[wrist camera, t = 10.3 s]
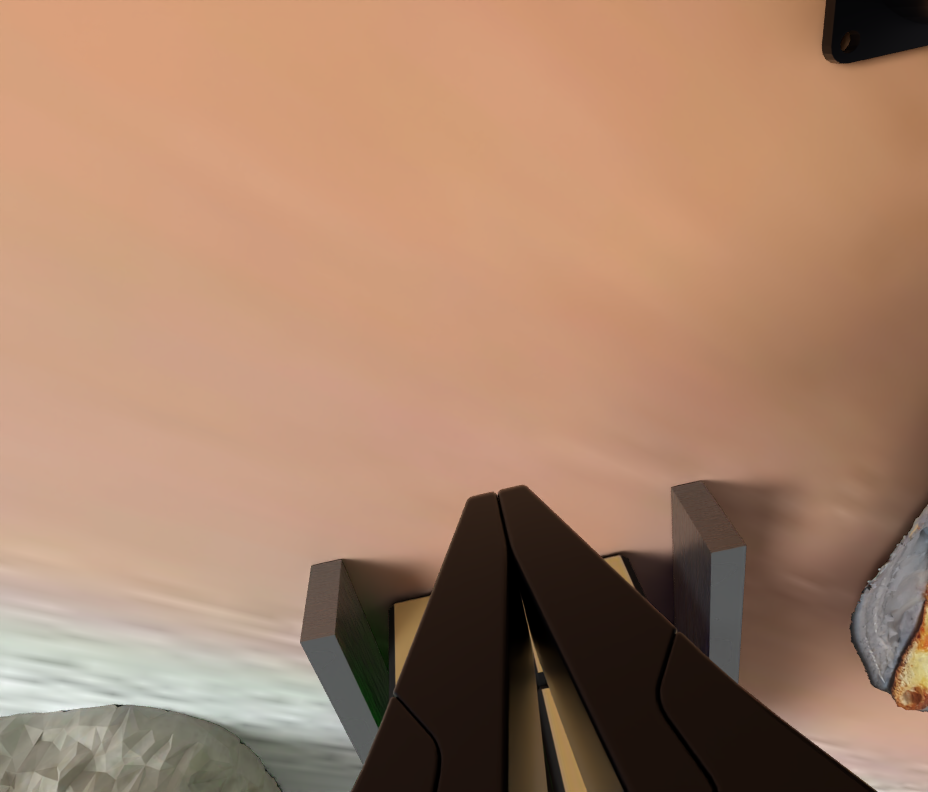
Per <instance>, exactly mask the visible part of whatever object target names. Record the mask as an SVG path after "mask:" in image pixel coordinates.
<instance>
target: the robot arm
mask: <svg viewBox="0 0 928 792" xmlns="http://www.w3.org/2000/svg"><path fill="white" fill-rule="evenodd" d="M847 32H848V33H849V34H850V42H849V45H848V46H847V48H846V49H845V50H844V51H842V50H841V45H840V44H841V40H842V38H843V37H844V35H845V34H846V33H847ZM927 45H928V0H826V8H825V19H824V29H823V40H822V52H823V55H824V57H825V59H826V60H828V61H829V62H831V63H852V62H856V61H861V60H865V59H870V58H874V57H878V56H883V55H887V54H892V53H896V52H901V51H905V50H909V49H914V48H918V47H923V46H927ZM498 499H499V500H498ZM522 601H523V602H522ZM523 605H524V606H523ZM524 609H525V610H524ZM525 614H526V615H525ZM526 618H527V619H526ZM527 622H528V623H527ZM528 626H529V628H528ZM529 630H530V633H531V637H532V641H533V644H534V647H535V650H536V653H537V656H538V659H539V662H540V665H541V667H542V670H543V673H544V676H545V678H546V681H547V684H548V686H549V689H550V692H551V695H552V697H553V700H554V703H555V706H556V708H557V711H558V714H559V716H560V719H561V722H562V725H563V727H564V730H565V733H566V735H567V738H568V741H569V744H570V746H571V749H572V752H573V754H574V757H575V760H576V763H577V765H578V768H579V771H580V774H581V776H582V779H583V782H584V784H585V787H586V790H587V792H877V791H876V790H875V789H873V788H872V787H871V786H869V785H868V784H867V783H866V782H864V781H863V780H862V779H860V778H859V777H858V776H856V775H855V774H854V773H852V772H851V771H850V770H848V769H847V768H846V767H844V766H843V765H842V764H840V763H839V762H838V761H837V760H835V759H834V758H833V757H831V756H830V755H829V754H827V753H826V752H825V751H823V750H822V749H821V748H819V747H818V746H817V745H815V744H814V743H813V742H811V741H810V740H809V739H808V738H806V737H805V736H804V735H802V734H801V733H800V732H798V731H797V730H796V729H794V728H793V727H792V726H790V725H789V724H788V723H786V722H785V721H784V720H783V719H781V718H780V717H779V716H777V715H776V714H775V713H774V712H772V711H771V710H770V709H769V708H767V707H766V706H765V705H764V704H762V703H761V702H760V701H759V700H757V699H756V698H755V697H754V696H752V695H751V694H750V693H749V692H747V691H746V690H745V689H744V688H742V687H741V686H740V685H739V684H737V683H736V682H735V681H734V680H733V679H732V678H731V677H730V676H728V675H727V674H726V673H725V672H724V671H723V670H722V669H721V668H719V667H718V666H717V665H716V664H715V663H714V662H713V661H712V660H710V659H709V658H708V657H707V656H706V655H705V654H704V653H703V652H702V651H701V650H699V649H698V648H697V647H696V646H695V645H694V644H693V643H692V642H691V641H690V640H689V639H688V638H687V637H686V636H685V635H684V634H683V633H681V632H678V633H677V628H676V627H675V626H674V625H673V624H672V623H671V622H670V621H668V620H667V619H666V618H665V617H664V616H663V615H662V614H661V613H660V612H659V611H658V610H657V609H656V608H655V607H654V606H653V605H652V604H651V603H649V602H648V601H647V600H646V599H645V598H644V597H643V596H642V595H641V594H640V593H639V592H638V591H637V590H636V589H635V588H634V587H633V586H632V585H630V584H629V583H628V582H627V581H626V580H625V579H624V578H623V577H622V576H621V575H620V574H619V573H618V572H617V571H616V570H615V569H614V568H613V567H611V566H610V565H609V564H608V563H607V562H606V561H605V560H604V559H603V558H602V557H601V556H600V555H599V554H598V553H597V552H596V551H595V550H594V549H592V548H591V547H590V546H589V545H588V544H587V543H586V542H585V541H584V540H583V539H582V538H581V537H580V536H579V535H578V534H577V533H576V532H575V531H573V530H572V529H571V528H570V527H569V526H568V525H567V524H566V523H565V522H564V521H563V520H562V519H561V518H560V517H559V516H558V515H557V514H556V513H554V512H553V511H552V510H551V509H550V508H549V507H548V506H547V505H546V504H545V503H544V502H543V501H542V500H541V499H540V498H539V497H538V496H537V495H535V494H534V493H533V492H532V491H531V490H530V489H529V488H528V487H527V486H525V485H519V486H514V487H510V488H506V489H502V490H500V491H499V492H498V496H497V494H496V493H494V492H489V493H484V494H480V495H476V496H472V497H470V498H469V499H468V500H467V502H466V504H465V507H464V510H463V512H462V515H461V517H460V520H459V523H458V525H457V528H456V530H455V533H454V536H453V538H452V541H451V543H450V546H449V549H448V551H447V554H446V556H445V559H444V562H443V564H442V567H441V569H440V572H439V575H438V577H437V580H436V582H435V585H434V588H433V590H432V593H431V595H430V598H429V600H428V603H427V606H426V608H425V611H424V613H423V616H422V619H421V621H420V624H419V626H418V629H417V632H416V634H415V637H414V639H413V642H412V645H411V647H410V650H409V652H408V655H407V658H406V660H405V663H404V665H403V668H402V671H401V673H400V676H399V678H398V681H397V683H396V686H395V689H394V691H393V695H394V697H392V698H391V699H390V701H389V703H388V706H387V709H386V711H385V714H384V717H383V719H382V722H381V724H380V727H379V729H378V732H377V734H376V736H375V739H374V741H373V744H372V746H371V748H370V751H369V753H368V755H367V758H366V760H365V763H364V765H363V767H362V770H361V772H360V774H359V776H358V778H357V780H356V782H355V784H354V786H353V788H352V790H351V792H548V790H547V781H546V771H545V762H544V752H543V743H542V733H541V724H540V714H539V704H538V695H537V685H536V676H535V666H534V657H533V650H532V643H531V638H530V633H529Z"/></svg>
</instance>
